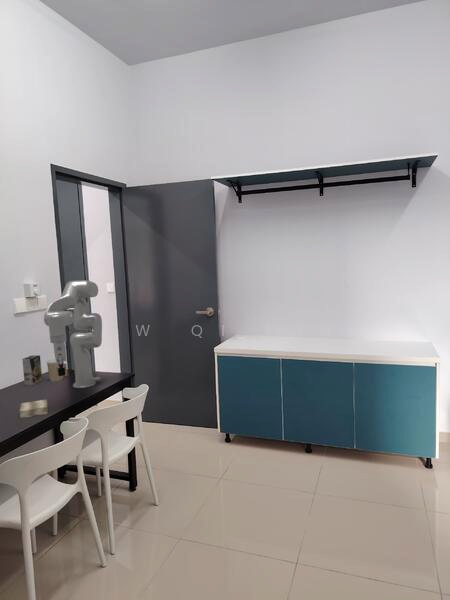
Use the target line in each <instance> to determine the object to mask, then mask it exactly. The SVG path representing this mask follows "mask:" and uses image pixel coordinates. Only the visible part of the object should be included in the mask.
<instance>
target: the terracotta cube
mask: <svg viewBox="0 0 450 600" xmlns="http://www.w3.org/2000/svg"><path fill="white" fill-rule="evenodd" d="M64 367H65V375H64V376H63V377H67V376H68V367H67V363H64ZM56 374H57V377H62V376H59V375H58V365H56Z"/></svg>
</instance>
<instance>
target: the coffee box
mask: <svg viewBox="0 0 450 600" xmlns="http://www.w3.org/2000/svg"><path fill="white" fill-rule="evenodd" d="M21 360H22V369H23V372H22V373H23V381H24V385H25V386H35V385H37V384H39V383H41V382H43V374H42V363H41V355H40V354H39V355H29V356H27V357H24V358H22V359H21Z"/></svg>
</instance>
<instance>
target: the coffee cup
mask: <svg viewBox="0 0 450 600" xmlns="http://www.w3.org/2000/svg"><path fill="white" fill-rule="evenodd" d="M46 365H47V372H48V376H49V381H50V382H59V381H62V380H63V379H64V376H62V377H57V374H56V365H58V363H57V362H56V359H55V358H53V359H49V360H47V361H46Z"/></svg>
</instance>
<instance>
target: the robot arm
mask: <svg viewBox="0 0 450 600" xmlns="http://www.w3.org/2000/svg"><path fill="white" fill-rule="evenodd" d="M98 294H99V287H98V284H96V282H93V281H91V280H82V279H81V280H70V281H68V282H67V283H65V286H64V288H63V292H62V294H61V296H60V297H59V298H57V299H56V300H54V301H53V302H51V303H50V304H49V305H48V306H47V308H46V310H45V312H44V315H43V322H44V324H45V325H46V326H47V327H48V330H49V339H50V340H49V341H50V344H53V352H54V357H55V358H54V359H56V362H57V363H58V375H59V376H63V377H65V376H64V375H65V367H64V364H65V362H67V361H68V359H67V352H66V351H67V350H66V342H67V341H68V340H67V339H68V338H67V331H66V327H68V326H71V325H72V324H73V328H74V329H75V330H77V331H79V332H74V333H72V334H71V335H70V338H69V343H70V345H71V350H72V357H73V367H74V368H73V369H74V378H75V382H74V383H73V384H72V388H75V389H86V387H87V388H90V386H91V387H93V386H95V385H96V384H97V382H98V381H101V380H102V379H101V376H94V375H93V368H92V358H91V357H92V356H91V353H90V351H88V349H95V348H99V347H101V346H102V340H103V319H102V316H101V315H100V314H99V313H97V312H94V313H90V305H89V303H88V302H87V301H86V300H85V298H87V299H88V298H96V297H97V296H98ZM71 308H73V312H72V311H69V309H71ZM87 330H88V331H87ZM90 330H92V331H90Z"/></svg>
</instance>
